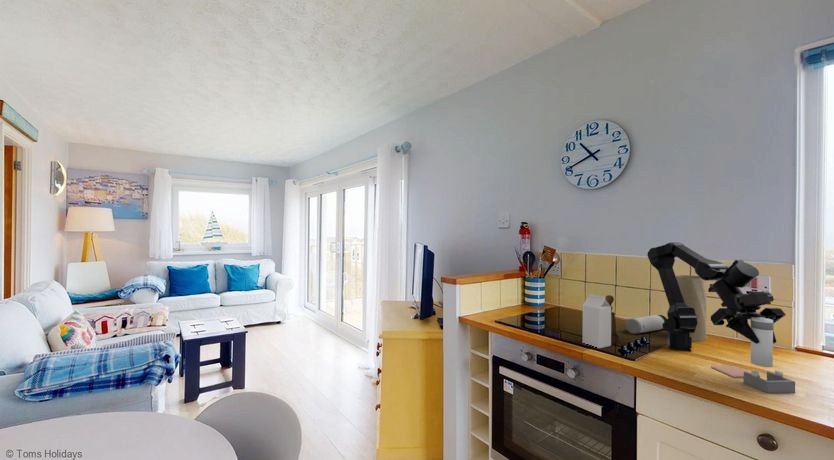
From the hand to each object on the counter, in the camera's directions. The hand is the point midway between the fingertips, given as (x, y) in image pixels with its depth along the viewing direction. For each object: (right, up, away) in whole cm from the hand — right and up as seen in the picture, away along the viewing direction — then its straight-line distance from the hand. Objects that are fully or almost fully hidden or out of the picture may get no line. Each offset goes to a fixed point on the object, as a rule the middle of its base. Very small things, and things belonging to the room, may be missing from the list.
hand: (766, 342), depth 103 cm
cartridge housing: (0, -12, 0) cm, 12 cm away
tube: (+13, -12, +45) cm, 49 cm away
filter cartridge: (0, -7, +1) cm, 7 cm away
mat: (0, -12, +10) cm, 16 cm away
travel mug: (-8, -9, +51) cm, 52 cm away
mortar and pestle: (-23, -12, +42) cm, 49 cm away
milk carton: (-30, -12, +36) cm, 49 cm away
